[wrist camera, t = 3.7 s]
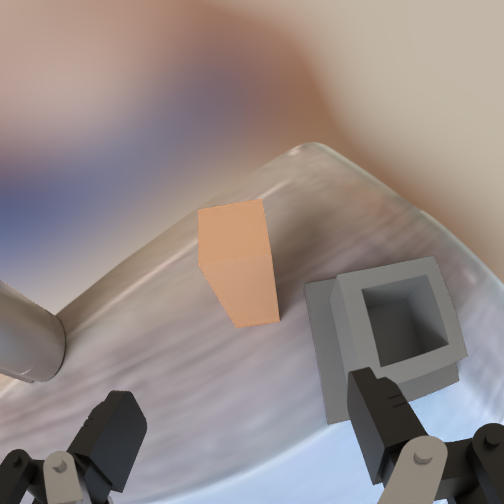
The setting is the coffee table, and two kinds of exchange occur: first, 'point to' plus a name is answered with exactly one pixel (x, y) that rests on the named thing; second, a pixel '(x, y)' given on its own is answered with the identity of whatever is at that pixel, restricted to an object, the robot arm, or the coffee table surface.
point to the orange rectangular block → (239, 261)
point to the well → (385, 330)
